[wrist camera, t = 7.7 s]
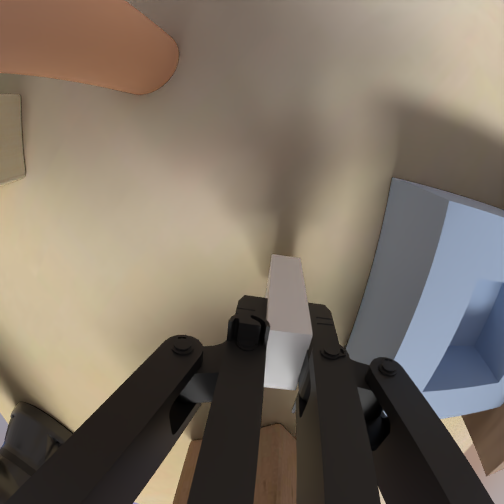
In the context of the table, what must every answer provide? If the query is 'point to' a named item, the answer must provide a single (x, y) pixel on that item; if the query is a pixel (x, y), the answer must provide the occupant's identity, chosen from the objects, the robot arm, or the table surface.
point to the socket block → (438, 298)
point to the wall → (488, 437)
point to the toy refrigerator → (11, 139)
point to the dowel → (86, 44)
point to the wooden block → (268, 468)
